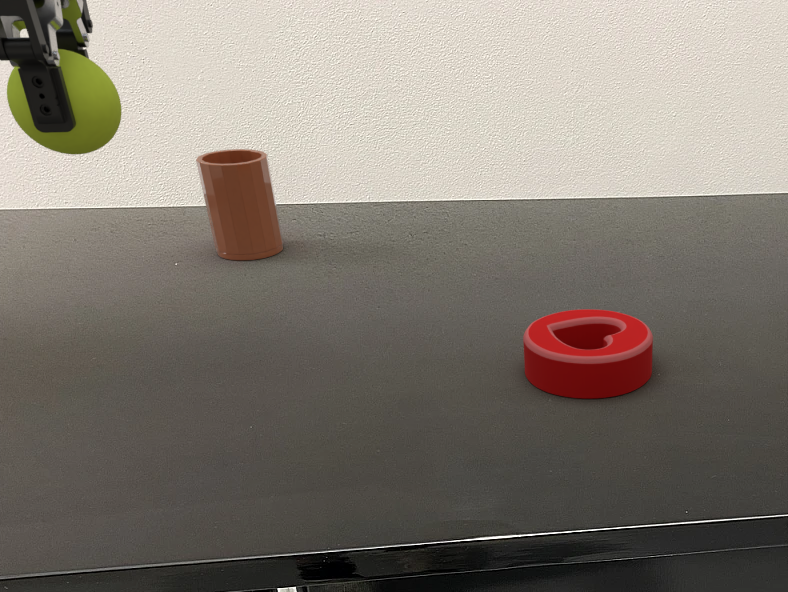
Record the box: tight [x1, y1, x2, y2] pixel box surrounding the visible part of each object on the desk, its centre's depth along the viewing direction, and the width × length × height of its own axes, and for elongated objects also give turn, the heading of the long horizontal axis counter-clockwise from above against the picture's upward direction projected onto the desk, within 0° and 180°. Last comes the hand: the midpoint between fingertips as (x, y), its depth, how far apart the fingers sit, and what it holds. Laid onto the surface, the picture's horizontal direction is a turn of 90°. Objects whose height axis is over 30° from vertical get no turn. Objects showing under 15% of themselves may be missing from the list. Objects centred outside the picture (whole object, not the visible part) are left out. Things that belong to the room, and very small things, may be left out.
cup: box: [195, 148, 284, 261], centre depth 93 cm, size 6×6×9 cm
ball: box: [6, 49, 123, 155], centre depth 62 cm, size 6×6×6 cm
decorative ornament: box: [522, 308, 654, 400], centre depth 72 cm, size 10×10×3 cm
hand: (70, 118), depth 63 cm, fingers closed on ball, 6 cm apart
